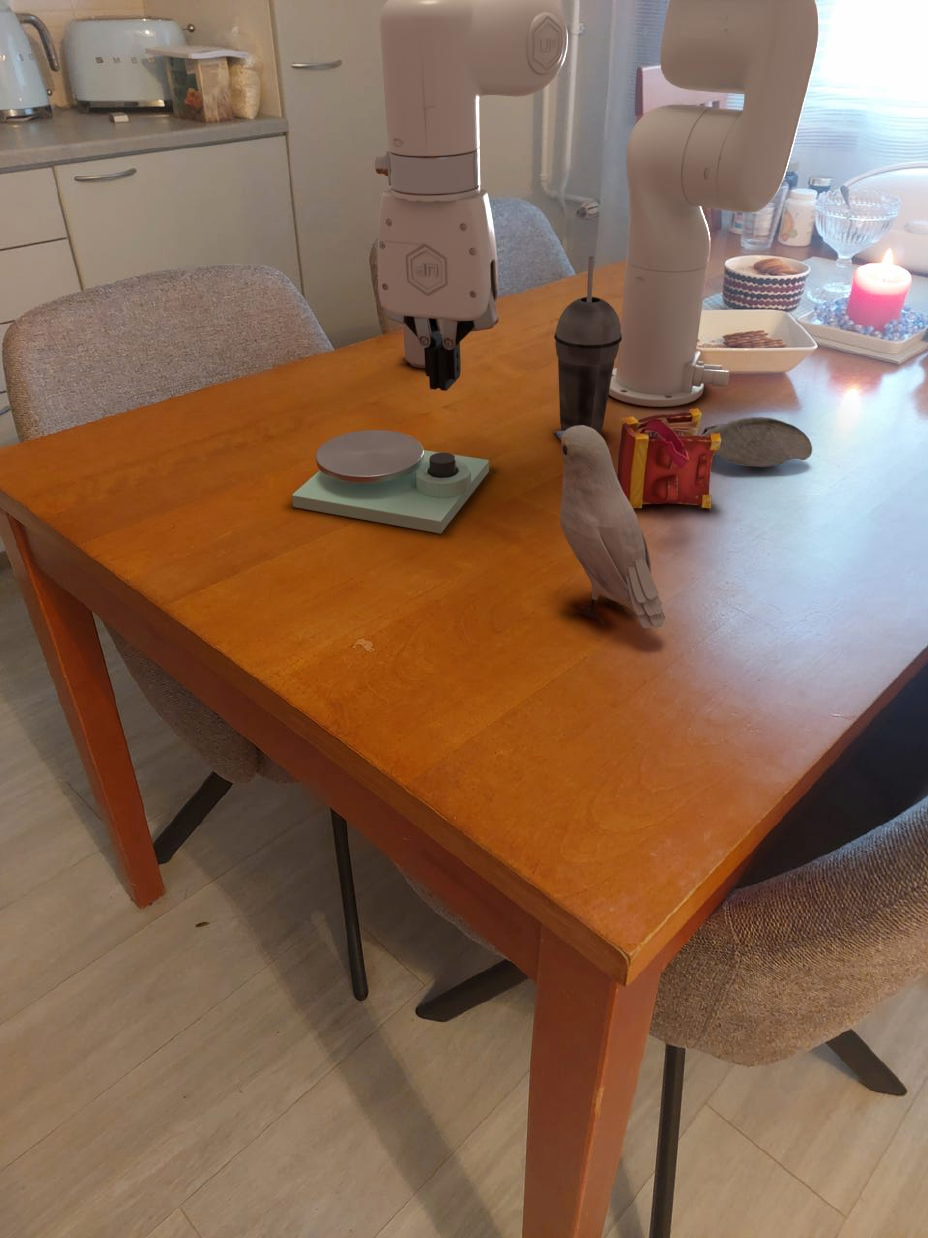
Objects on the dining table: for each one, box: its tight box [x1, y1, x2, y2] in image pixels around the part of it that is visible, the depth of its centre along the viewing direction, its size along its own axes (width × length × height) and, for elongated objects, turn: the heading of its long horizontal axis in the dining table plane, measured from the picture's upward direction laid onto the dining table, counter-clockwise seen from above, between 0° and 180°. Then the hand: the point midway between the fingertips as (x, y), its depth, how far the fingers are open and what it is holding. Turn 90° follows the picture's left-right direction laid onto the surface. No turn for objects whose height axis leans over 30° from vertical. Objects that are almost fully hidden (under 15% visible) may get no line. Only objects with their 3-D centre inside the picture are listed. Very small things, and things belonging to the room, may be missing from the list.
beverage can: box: [402, 319, 445, 369], centre depth 120 cm, size 6×6×12 cm
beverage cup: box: [553, 255, 622, 436], centre depth 97 cm, size 7×7×20 cm
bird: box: [552, 425, 666, 629], centre depth 70 cm, size 5×14×15 cm, turn 36°
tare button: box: [429, 452, 456, 478], centre depth 89 cm, size 3×3×2 cm
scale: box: [291, 449, 490, 535], centre depth 92 cm, size 16×14×3 cm
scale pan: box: [315, 429, 425, 483], centre depth 91 cm, size 11×11×1 cm
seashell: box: [700, 416, 813, 468], centre depth 96 cm, size 12×8×5 cm
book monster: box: [616, 408, 721, 509], centre depth 86 cm, size 11×9×12 cm
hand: (443, 384), depth 85 cm, fingers closed
